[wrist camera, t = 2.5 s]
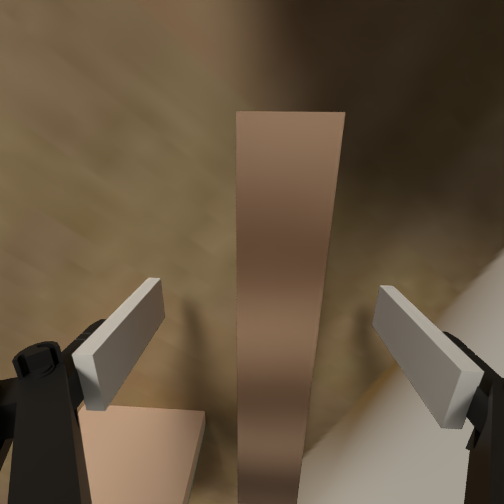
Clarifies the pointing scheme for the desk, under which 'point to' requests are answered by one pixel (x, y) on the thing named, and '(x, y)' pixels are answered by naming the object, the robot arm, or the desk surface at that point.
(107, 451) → the tile
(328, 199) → the wooden plank
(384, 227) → the desk surface
